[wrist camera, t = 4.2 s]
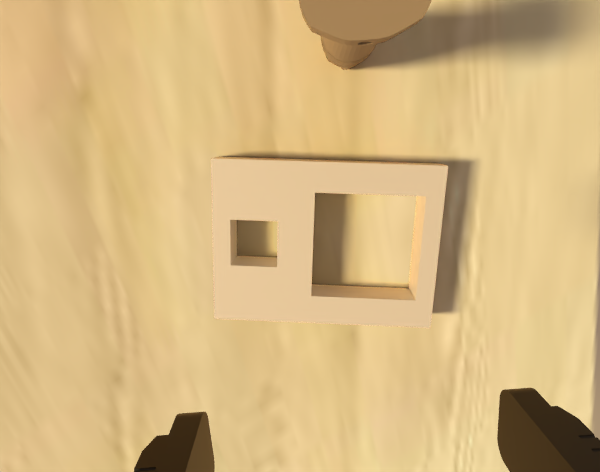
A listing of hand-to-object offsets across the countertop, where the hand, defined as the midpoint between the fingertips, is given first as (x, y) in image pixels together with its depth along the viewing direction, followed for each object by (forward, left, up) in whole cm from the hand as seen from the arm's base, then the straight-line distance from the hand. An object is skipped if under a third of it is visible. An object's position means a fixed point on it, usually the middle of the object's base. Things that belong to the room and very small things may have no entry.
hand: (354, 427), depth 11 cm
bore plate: (0, -1, -27) cm, 27 cm away
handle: (+1, +15, -27) cm, 31 cm away
